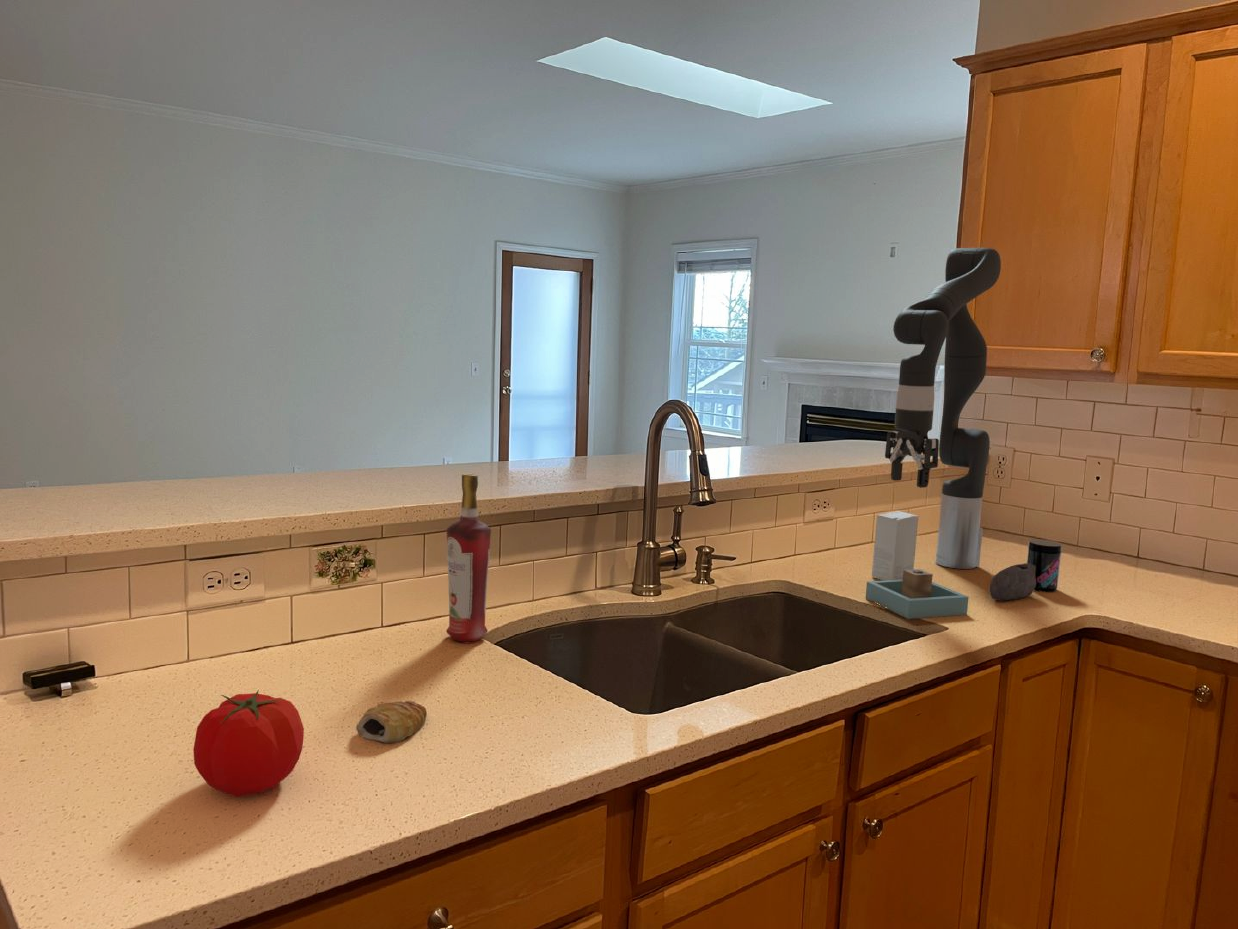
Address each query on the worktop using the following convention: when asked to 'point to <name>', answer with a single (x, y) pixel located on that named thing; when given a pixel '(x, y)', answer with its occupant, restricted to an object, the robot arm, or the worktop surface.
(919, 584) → the walnut block
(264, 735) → the tomato
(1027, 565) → the perforated stone tool
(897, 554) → the skincare box
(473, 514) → the liquor
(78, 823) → the worktop surface
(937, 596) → the tray
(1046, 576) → the supplement container
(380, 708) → the pastry
